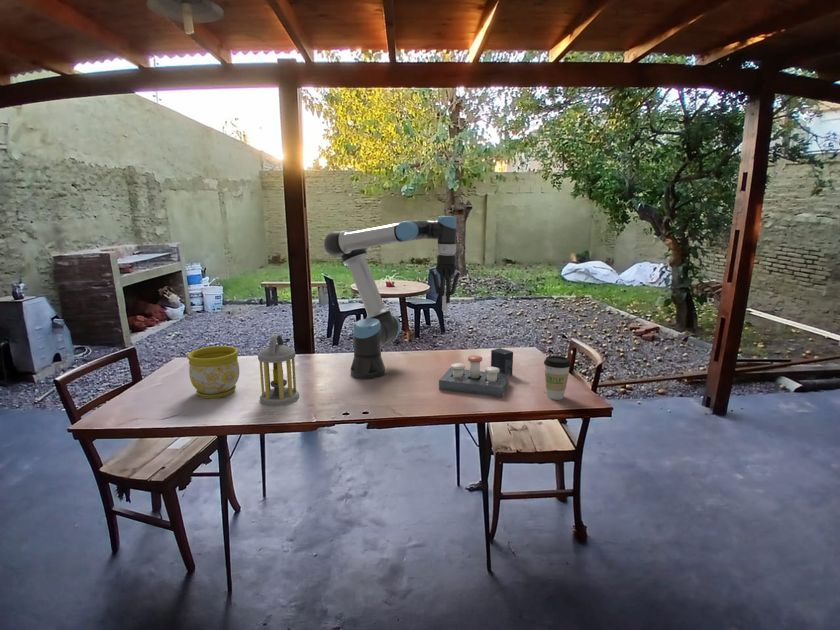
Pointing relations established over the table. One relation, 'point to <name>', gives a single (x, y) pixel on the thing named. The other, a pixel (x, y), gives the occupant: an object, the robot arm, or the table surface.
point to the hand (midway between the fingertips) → (444, 310)
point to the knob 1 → (458, 369)
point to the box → (502, 360)
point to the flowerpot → (214, 370)
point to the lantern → (277, 373)
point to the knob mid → (475, 366)
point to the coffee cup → (556, 376)
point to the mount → (474, 384)
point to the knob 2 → (492, 373)
